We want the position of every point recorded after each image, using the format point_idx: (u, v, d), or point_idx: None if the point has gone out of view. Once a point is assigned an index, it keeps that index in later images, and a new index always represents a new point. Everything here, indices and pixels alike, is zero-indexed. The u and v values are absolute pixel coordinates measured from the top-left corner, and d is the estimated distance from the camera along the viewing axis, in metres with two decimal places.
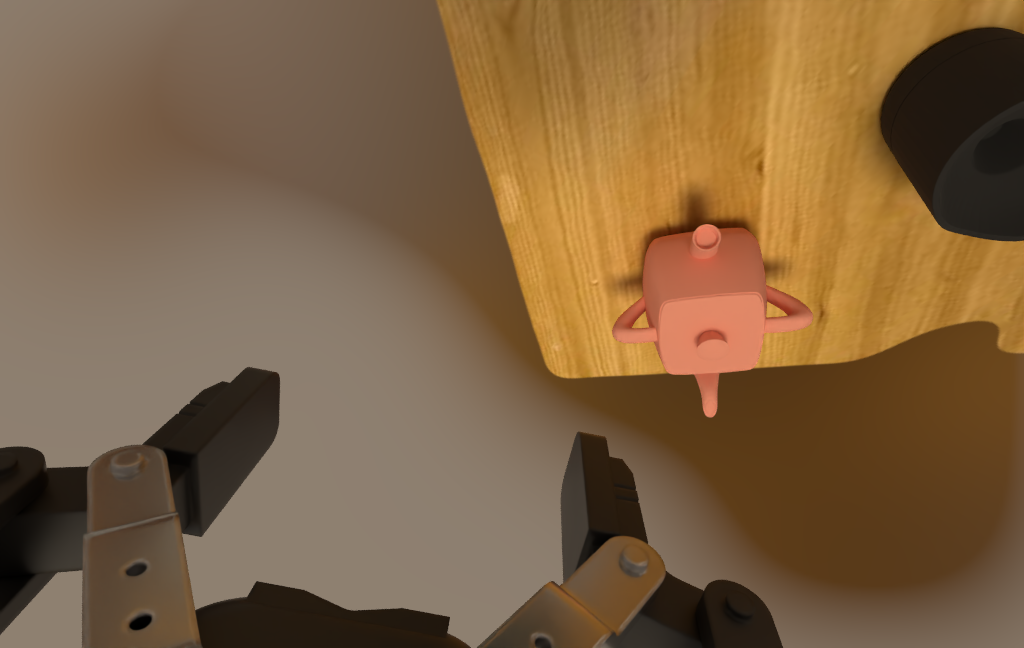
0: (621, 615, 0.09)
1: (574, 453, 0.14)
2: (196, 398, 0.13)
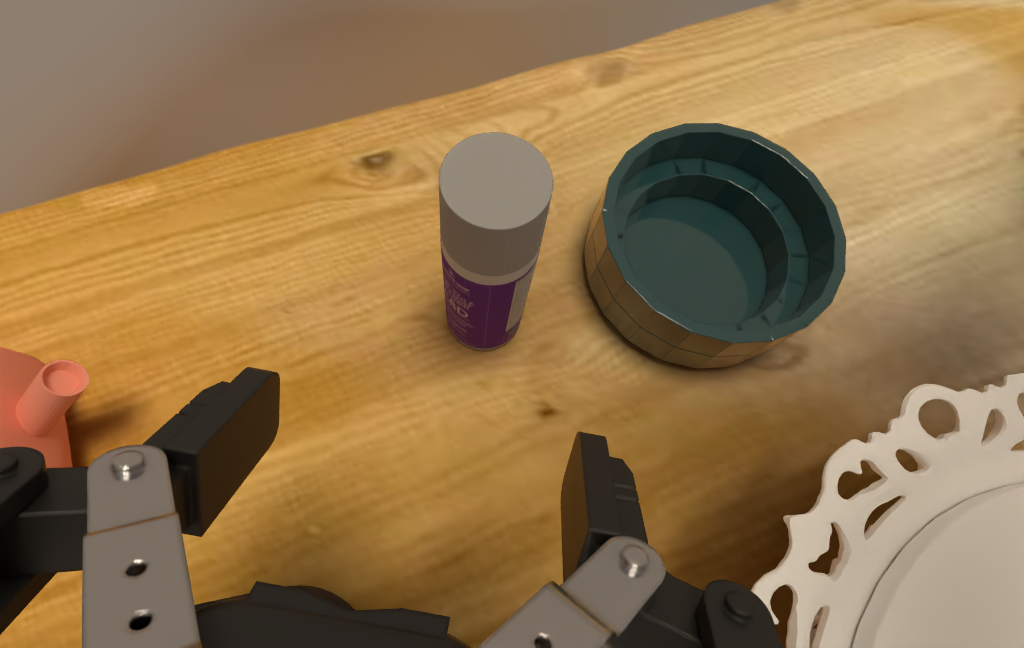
0: (621, 615, 0.09)
1: (574, 453, 0.14)
2: (196, 398, 0.13)
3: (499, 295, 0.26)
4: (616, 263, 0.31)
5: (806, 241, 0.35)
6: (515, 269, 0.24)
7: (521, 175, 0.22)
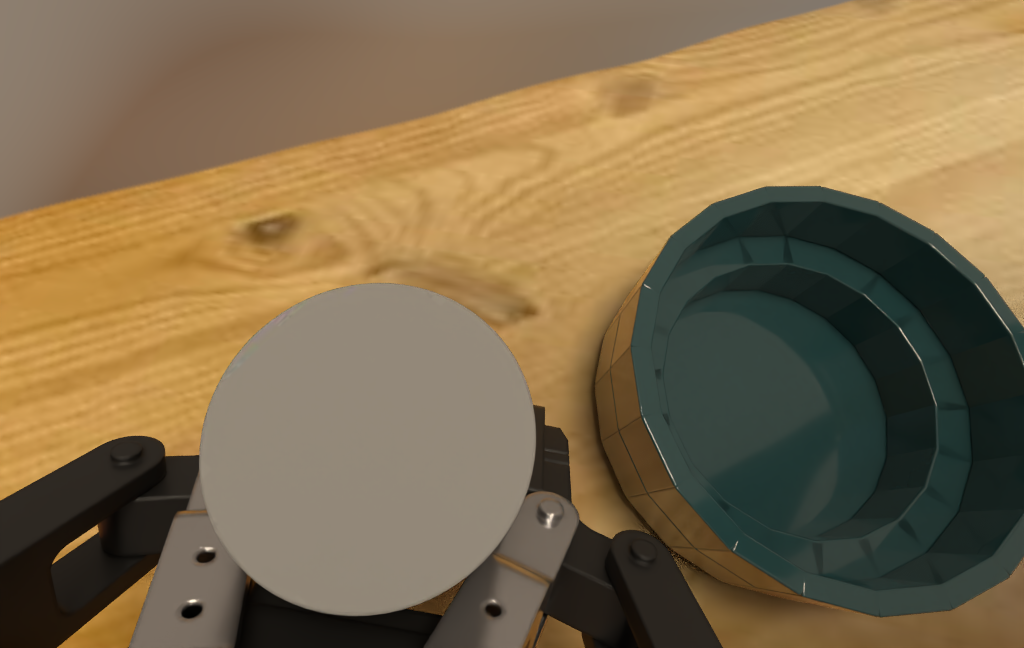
0: (551, 564, 0.10)
1: None
2: None
3: None
4: (657, 451, 0.17)
5: (962, 382, 0.21)
6: None
7: (446, 418, 0.08)
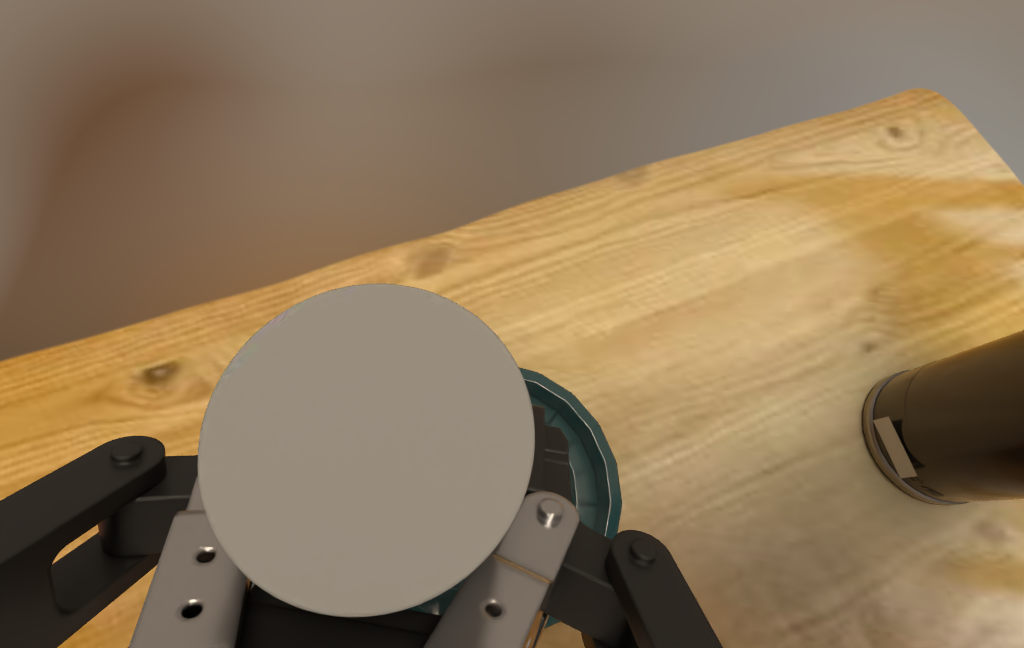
0: (551, 564, 0.10)
1: None
2: None
3: None
4: None
5: (596, 487, 0.33)
6: None
7: (444, 419, 0.08)
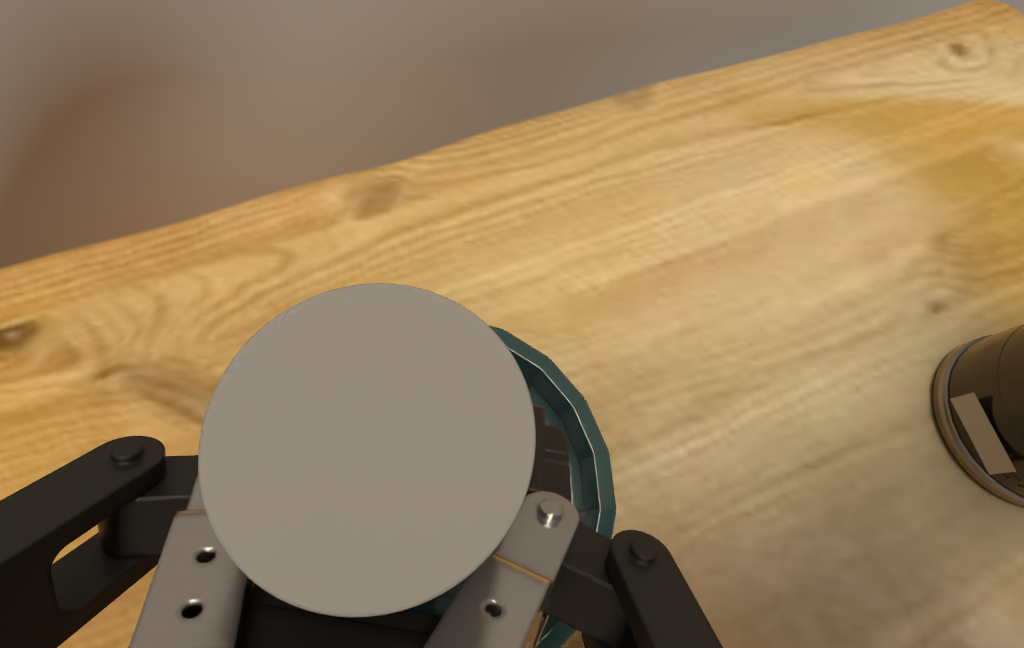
0: (551, 564, 0.10)
1: None
2: None
3: None
4: None
5: (583, 487, 0.24)
6: None
7: (446, 419, 0.08)
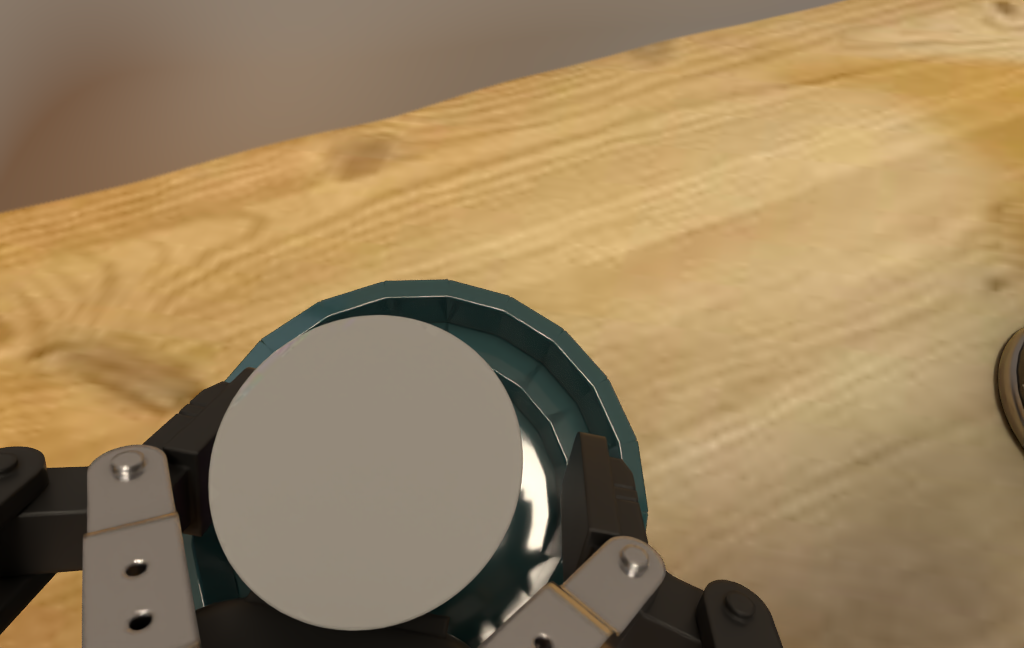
0: (621, 615, 0.09)
1: (574, 453, 0.14)
2: (196, 398, 0.13)
3: None
4: None
5: None
6: None
7: (439, 443, 0.08)
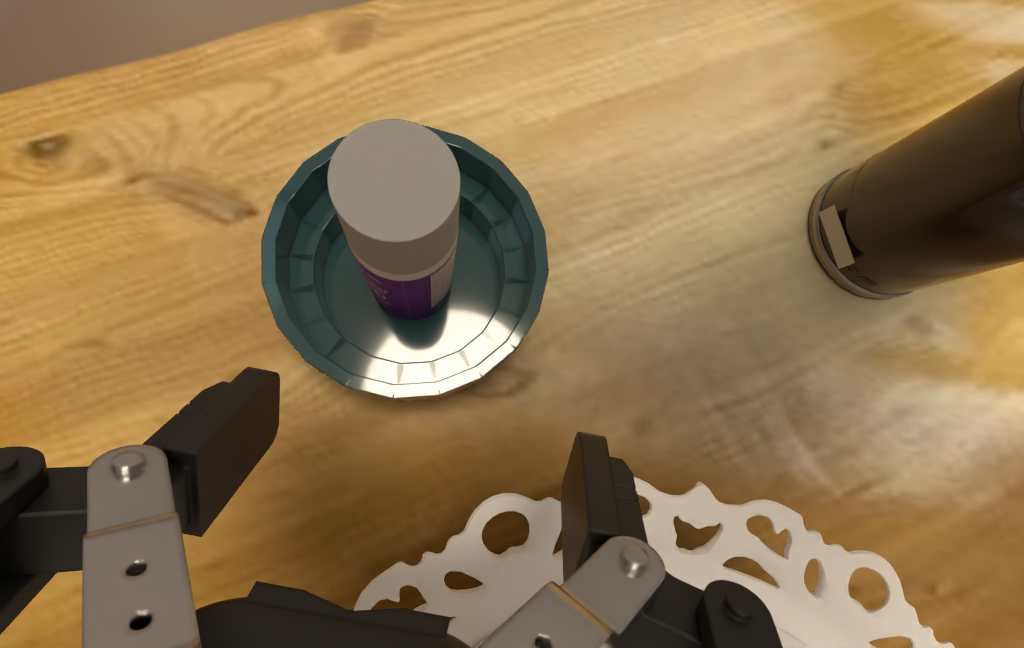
0: (621, 615, 0.09)
1: (574, 453, 0.14)
2: (196, 398, 0.13)
3: (414, 286, 0.24)
4: (270, 305, 0.27)
5: (526, 264, 0.32)
6: (427, 267, 0.22)
7: (424, 174, 0.19)
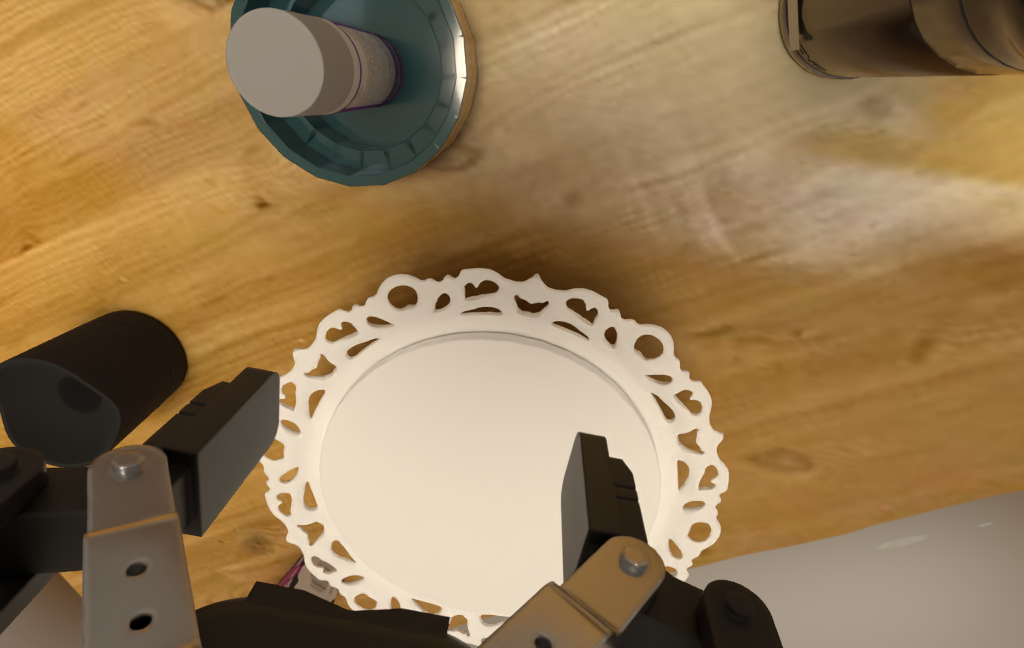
0: (621, 615, 0.09)
1: (574, 453, 0.14)
2: (196, 398, 0.13)
3: (338, 112, 0.31)
4: (248, 110, 0.35)
5: None
6: (332, 110, 0.29)
7: (295, 59, 0.25)
